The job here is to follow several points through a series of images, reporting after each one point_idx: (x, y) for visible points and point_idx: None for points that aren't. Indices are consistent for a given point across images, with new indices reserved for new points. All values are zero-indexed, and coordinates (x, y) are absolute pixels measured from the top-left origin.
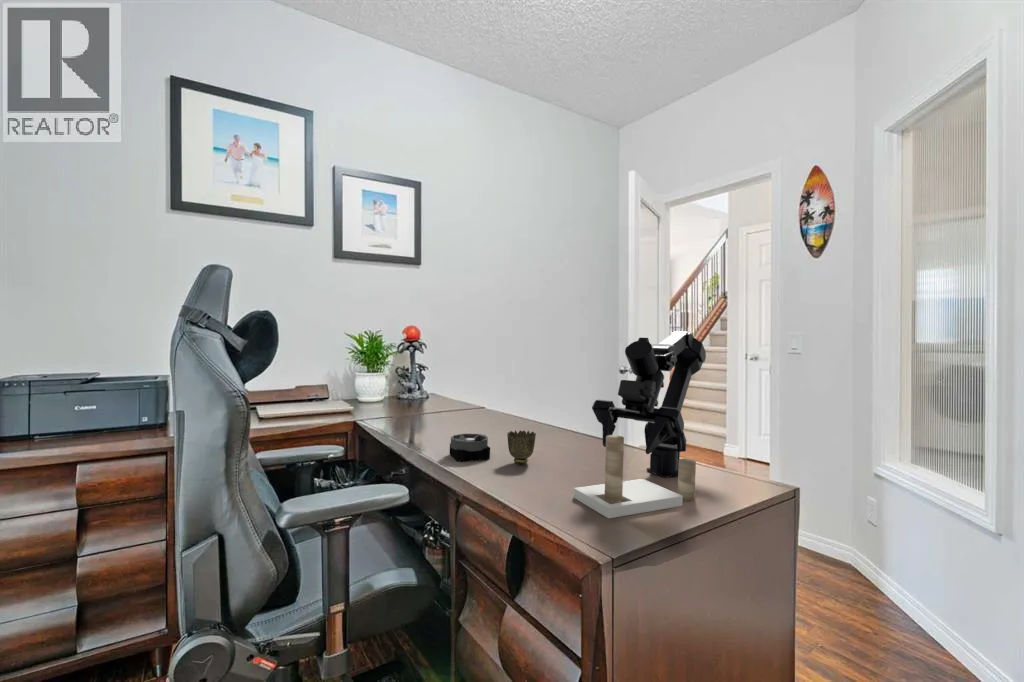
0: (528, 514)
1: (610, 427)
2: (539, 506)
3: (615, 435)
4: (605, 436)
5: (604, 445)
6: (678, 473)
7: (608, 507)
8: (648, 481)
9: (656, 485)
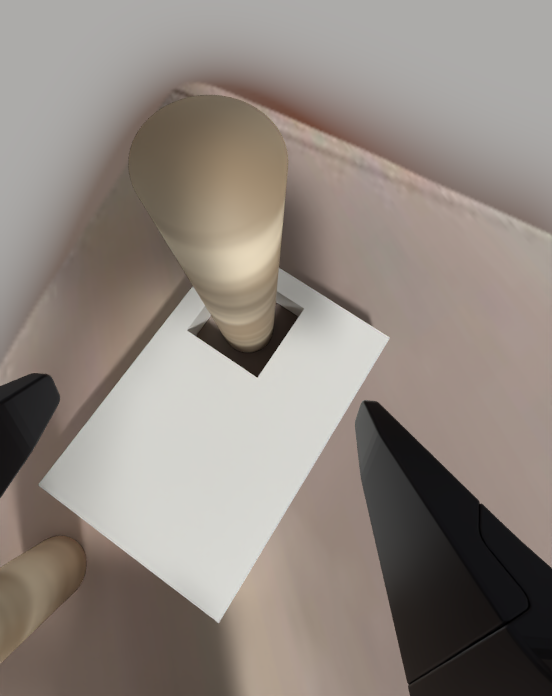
0: (406, 176)
1: (442, 637)
2: (415, 233)
3: (227, 223)
4: (390, 437)
5: (360, 407)
6: (7, 616)
7: None
8: (186, 595)
9: (146, 556)
